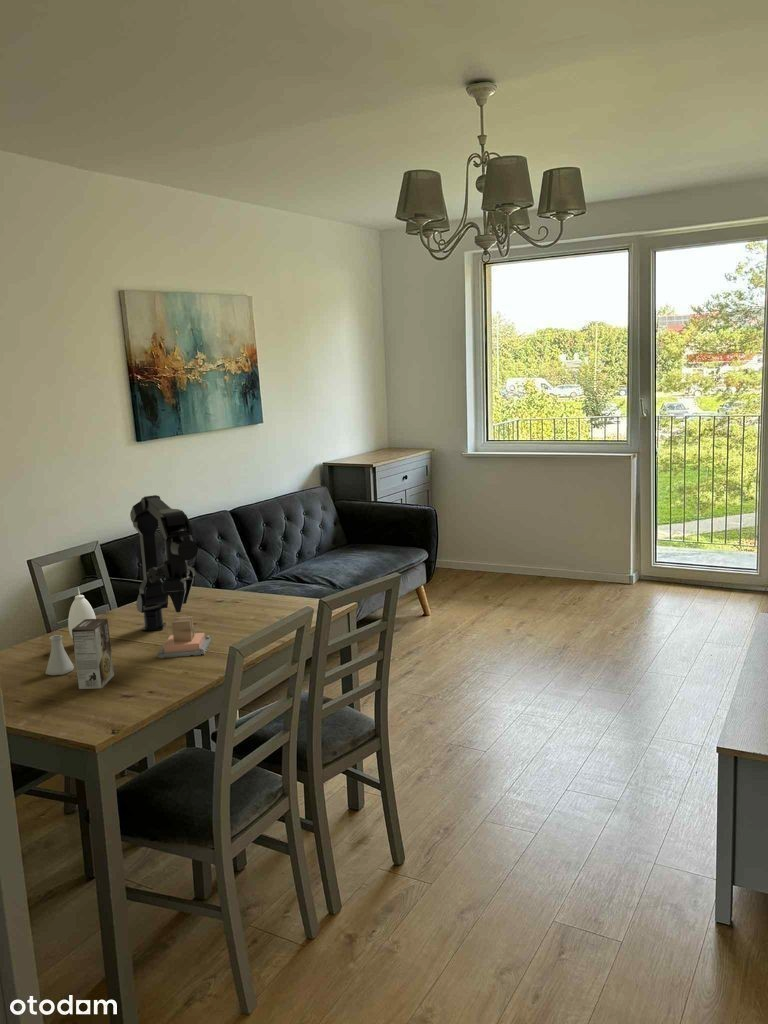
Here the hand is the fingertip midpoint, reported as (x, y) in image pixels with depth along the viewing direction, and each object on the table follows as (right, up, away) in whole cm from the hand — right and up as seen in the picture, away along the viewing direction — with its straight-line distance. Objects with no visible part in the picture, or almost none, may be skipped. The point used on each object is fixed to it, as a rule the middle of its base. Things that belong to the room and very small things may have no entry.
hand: (181, 607), depth 236 cm
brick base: (+1, -12, +2) cm, 12 cm away
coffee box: (-17, -17, -22) cm, 32 cm away
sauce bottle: (-32, -13, +11) cm, 36 cm away
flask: (-31, -16, -11) cm, 36 cm away
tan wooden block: (0, -9, +2) cm, 9 cm away
